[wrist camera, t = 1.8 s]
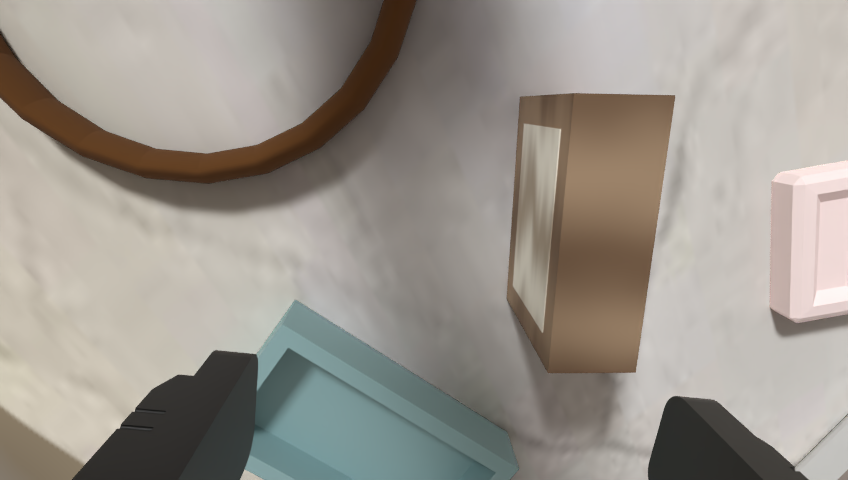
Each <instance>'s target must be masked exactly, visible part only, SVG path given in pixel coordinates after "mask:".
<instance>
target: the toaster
mask: <svg viewBox="0 0 848 480" xmlns="http://www.w3.org/2000/svg"><path fill="white" fill-rule="evenodd" d="M795 471H800V472H801V473H802V474H803V475H804V476H805V477H806V478H808V479H809V480H848V415H847V416H846V417H845V418H844V419H843V420H842V421H841V422H840V423H839V424H838V425H837V426H836V427H835V428H834V429H833V430H832V431H831V432H830V433H829V434H828V435H827V436H826V437H825V438H824V439H823V440H822V441H821V442H820V443H819V444H818V445H817V446H816V447H815V448H814V449H813V450H812V451H811V452H810V453H809V454H808V455H807V456H806V457H805V458H804V459H803V460H802V461H801V462H800V463H799V464H798V465H797V466H796V467H795Z"/></svg>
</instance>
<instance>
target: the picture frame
mask: <svg viewBox="0 0 848 480" xmlns="http://www.w3.org/2000/svg"><path fill="white" fill-rule="evenodd" d="M674 101H675V95H628V94H580V93H572V94H556V95H540V96H525V97H520V104H519V119H518V135H517V150H516V165H515V180H514V195H513V211H512V226H511V241H510V256H509V272H508V287H507V300H508V302H509V304H510V305H511V307H512V309H513V311H514V313H515V314H516V316H517V318H518V320H519V322H520V323H521V325H522V327H523V329H524V331H525V332H526V334H527V336H528V338H529V340H530V341H531V343H532V345H533V347H534V349H535V350H536V352H537V354H538V356H539V358H540V359H541V361H542V363H543V365H544V367H545V369H546V370H547V372H548V373H631V372H636V366H637V359H638V352H639V345H640V338H641V331H642V324H643V317H644V310H645V303H646V296H647V289H648V282H649V275H650V268H651V261H652V255H653V248H654V241H655V234H656V227H657V220H658V213H659V206H660V199H661V192H662V185H663V178H664V171H665V164H666V157H667V150H668V143H669V136H670V129H671V122H672V115H673V108H674Z"/></svg>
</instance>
